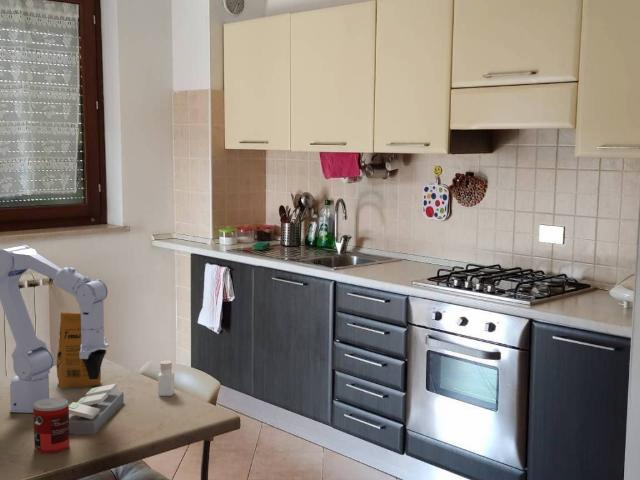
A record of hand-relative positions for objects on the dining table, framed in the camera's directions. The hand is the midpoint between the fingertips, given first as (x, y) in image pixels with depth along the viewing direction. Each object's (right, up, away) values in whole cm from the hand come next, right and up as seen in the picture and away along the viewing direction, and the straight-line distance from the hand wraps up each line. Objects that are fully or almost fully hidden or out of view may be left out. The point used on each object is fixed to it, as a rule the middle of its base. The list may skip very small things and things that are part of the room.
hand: (93, 378), depth 207 cm
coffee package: (-13, -7, +29) cm, 32 cm away
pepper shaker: (+15, -8, +20) cm, 27 cm away
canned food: (-4, -13, -19) cm, 24 cm away
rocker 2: (-1, -7, +1) cm, 7 cm away
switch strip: (-1, -10, +3) cm, 11 cm away
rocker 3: (-1, -8, -7) cm, 11 cm away
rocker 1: (0, -6, +9) cm, 11 cm away
